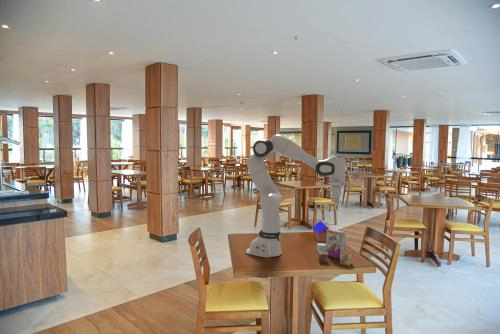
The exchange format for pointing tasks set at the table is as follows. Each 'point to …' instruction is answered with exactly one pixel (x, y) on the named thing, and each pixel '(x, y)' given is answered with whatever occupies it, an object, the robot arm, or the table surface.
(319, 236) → the house
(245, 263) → the table surface
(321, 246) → the sage cube
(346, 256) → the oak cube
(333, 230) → the candy bar box
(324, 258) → the walnut cube
